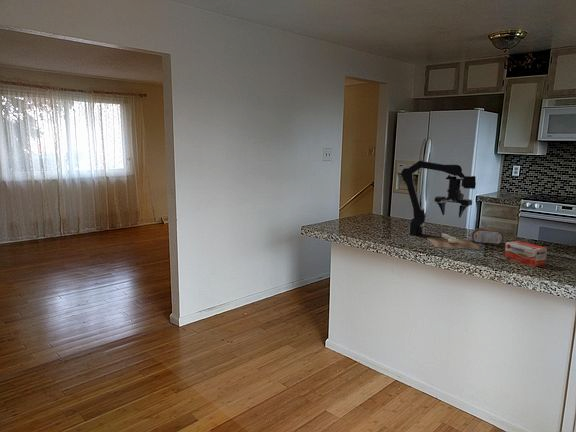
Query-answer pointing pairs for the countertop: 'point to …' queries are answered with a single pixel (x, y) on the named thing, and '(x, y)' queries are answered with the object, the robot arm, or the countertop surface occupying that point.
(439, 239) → the brown board
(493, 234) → the tin
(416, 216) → the robot arm
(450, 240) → the peg
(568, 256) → the countertop surface
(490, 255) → the countertop surface
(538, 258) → the medicine box
